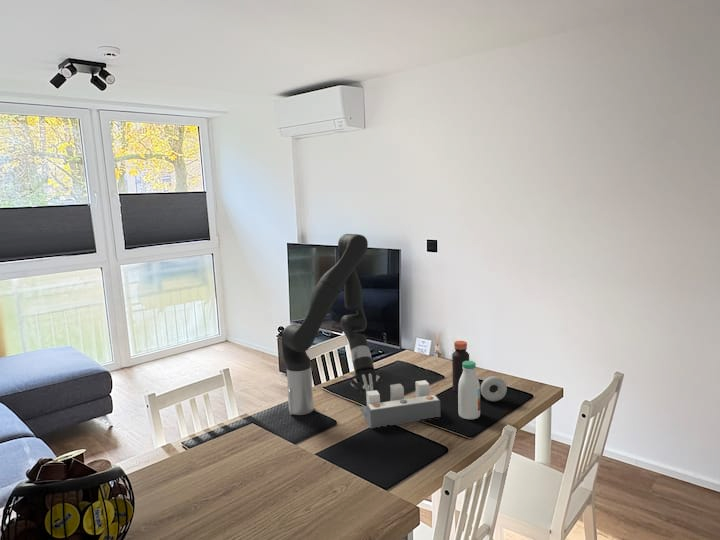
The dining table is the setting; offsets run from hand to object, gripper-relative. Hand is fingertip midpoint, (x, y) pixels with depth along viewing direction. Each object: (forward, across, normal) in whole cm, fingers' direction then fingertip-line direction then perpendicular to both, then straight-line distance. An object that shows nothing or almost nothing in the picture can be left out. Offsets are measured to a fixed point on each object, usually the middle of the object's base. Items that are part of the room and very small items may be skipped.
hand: (371, 403), depth 182 cm
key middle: (+2, +10, +2) cm, 10 cm away
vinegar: (-4, +40, +11) cm, 42 cm away
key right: (+2, +20, +2) cm, 20 cm away
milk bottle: (+12, +33, -4) cm, 36 cm away
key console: (+5, +10, +2) cm, 11 cm away
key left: (+4, 0, 0) cm, 4 cm away
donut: (+6, +47, +1) cm, 48 cm away
